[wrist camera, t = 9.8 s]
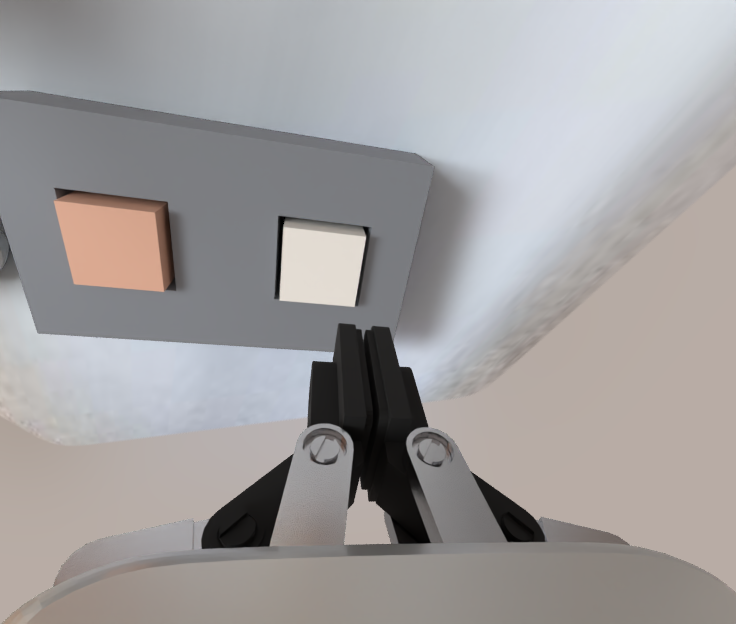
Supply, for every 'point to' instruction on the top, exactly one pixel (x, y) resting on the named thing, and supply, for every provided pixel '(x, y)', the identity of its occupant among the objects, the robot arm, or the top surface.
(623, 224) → the top surface
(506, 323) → the top surface
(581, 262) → the top surface
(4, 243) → the ceramic mug
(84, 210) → the light orange cube
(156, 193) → the key panel
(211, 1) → the top surface
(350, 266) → the white key
